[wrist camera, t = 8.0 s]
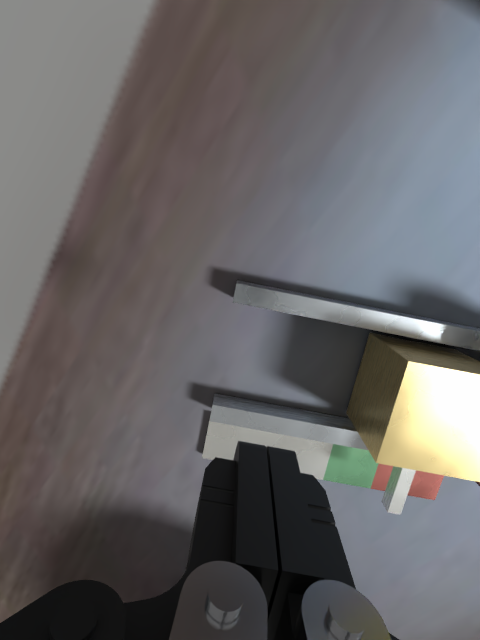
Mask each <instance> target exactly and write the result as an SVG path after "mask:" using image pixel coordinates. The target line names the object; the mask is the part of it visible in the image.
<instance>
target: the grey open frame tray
mask: <svg viewBox="0 0 480 640" xmlns="http://www.w3.org/2000/svg"><path fill="white" fill-rule="evenodd" d="M233 303H238V304H243V305H248V306H254V307H259V308H264V309H269V310H274V311H279V312H284V313H289V314H294V315H299V316H304V317H309V318H314V319H319V320H325V321H330V322H335V323H340V324H345V325H350V326H355V327H360V328H365V329H370V330H375V331H380V332H385V333H391V334H396V335H401V336H406V337H411V338H416V339H421V340H426V341H431V342H436V343H441V344H446V345H451V346H456V347H462V348H467V349H472V350H477V351H480V328H475V327H470V326H465V325H460V324H455V323H450V322H445V321H440V320H435V319H430V318H425V317H420V316H415V315H410V314H405V313H400V312H395V311H390V310H385V309H380V308H375V307H370V306H365V305H360V304H355V303H350V302H345V301H340V300H335V299H330V298H325V297H320V296H315V295H310V294H305V293H300V292H295V291H290V290H285V289H280V288H275V287H270V286H265V285H260V284H255V283H250V282H245V281H240V280H237V283H236V288H235V293H234V298H233ZM238 441H243V442H248V443H254V444H259V445H264V446H266V447H267V446H270V447H276V448H281V449H286V450H292V451H295V452H296V456H297V460H298V464H299V469H300V473H305V474H310V475H313V476H314V477H315V478H316V479H321V480H327V481H332V482H338V483H343V484H349V485H354V486H360V487H365V488H371V489H376V490H382V491H385V490H386V487H387V484H388V481H389V478H390V475H391V472H392V469H393V466H390V465H384V464H379V463H376V462H375V460H374V459H373V457H372V455H371V454H370V452H369V450H368V449H367V447H366V445H365V444H364V442H363V440H362V439H361V437H360V435H359V433H358V432H357V430H356V428H355V427H354V425H353V423H352V422H351V420H350V419H349V418H344V417H339V416H333V415H328V414H323V413H317V412H312V411H307V410H301V409H296V408H291V407H285V406H280V405H275V404H269V403H264V402H259V401H253V400H248V399H243V398H237V397H232V396H227V395H221V394H216V393H215V394H214V400H213V405H212V410H211V415H210V420H209V425H208V430H207V435H206V440H205V445H204V450H203V456H202V458H205V459H210V460H213V459H214V458H215V457H218V458H223V459H228V460H233V459H234V455H235V450H236V446H237V443H238ZM443 477H444V475H439V474H433V473H428V472H423V471H417V470H416V472H415V475H414V478H413V480H412V483H411V486H410V489H409V492H408V495H410V496H415V497H421V498H426V499H432V500H435V498H436V496H437V493H438V490H439V488H440V485H441V482H442V479H443ZM475 482H476V483H477V484H478V485H479V486H480V482H477V481H475Z"/></svg>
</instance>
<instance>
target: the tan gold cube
mask: <svg viewBox="0 0 480 640" xmlns="http://www.w3.org/2000/svg"><path fill="white" fill-rule="evenodd" d="M346 413H347V415H348V417H349V418H350V420H351V422H352V423H353V425H354V427H355V428H356V430H357V432H358V433H359V435H360V437H361V439H362V440H363V442H364V444H365V445H366V447H367V449H368V450H369V452H370V454H371V455H372V457H373V459H374V460H375V462H376V463H379V464H384V465H390V466H393V469H392V472H391V475H390V478H389V481H388V484H387V487H386V490H385V493H384V496H383V499H382V503H383V505H384V507H385V509H386V510H387V512H389V513H394V514H400V515H401V512H402V509H403V506H404V503H405V500H406V498H407V495H408V492H409V489H410V486H411V483H412V480H413V478H414V475H415V472H416V470H417V471H423V472H428V473H433V474H439V475H444V476H450V477H455V478H461V479H466V480H472V481H477V482H480V362H479V361H477V360H475V359H473V358H471V357H469V356H468V355H466V354H464V353H462V352H460V351H458V350H456V349H451V348H446V347H441V346H436V345H431V344H426V343H421V342H416V341H411V340H406V339H401V338H396V337H390V336H385V335H380V334H375V333H369V336H368V340H367V343H366V347H365V350H364V354H363V357H362V361H361V364H360V368H359V371H358V374H357V378H356V381H355V385H354V388H353V392H352V395H351V399H350V402H349V406H348V409H347V412H346Z"/></svg>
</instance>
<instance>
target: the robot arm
mask: <svg viewBox="0 0 480 640" xmlns="http://www.w3.org/2000/svg"><path fill="white" fill-rule="evenodd" d="M330 509H331V507H330V504H329V501H328V498H327V495H326V491H325V490H324V488H323V487H322V486H321V485H320V483H319V482H318V481H317V480H316V478H315V477H314V476H313V475H310V474H305V473H300V469H299V464H298V460H297V456H296V452H295V451H292V450H286V449H281V448H276V447H270V446H267V447H266V446H264V445H259V444H254V443H248V442H243V441H238V443H237V446H236V450H235V455H234V459H233V460H228V459H223V458H218V457H215V458H214V459H213V461H212V462H211V463H210V464H209V465H208V466H207V467H206V469H205V472H204V477H203V482H202V487H201V492H200V497H199V502H198V507H197V512H196V517H195V522H194V528H193V533H192V539H191V545H190V550H189V556H188V562H187V568H186V572H185V574H184V575H183V577H182V578H181V580H180V581H179V582H178V583H177V584H176V585H175V586H174V587H172V588H171V589H170V590H168V591H167V592H165V593H163V594H161V595H159V596H157V597H154V598H150V599H146V600H141V601H135V602H129V603H124V604H123V602H122V600H121V598H120V597H119V595H118V594H117V593H116V592H115V591H114V590H113V589H112V588H111V587H109V586H108V585H106V584H103V583H101V582H98V581H93V580H79V581H73V582H69V583H66V584H64V585H61V586H59V587H57V588H55V589H53V590H51V591H50V592H48V593H47V594H45V595H43V596H42V597H40V598H39V599H37V600H36V601H34V602H33V603H31V604H29V605H28V606H26V607H25V608H23V609H22V610H20V611H19V612H17V613H15V614H14V615H12V616H11V617H9V618H8V619H6V620H5V621H3V622H1V623H0V640H399V639H397V638H396V637H394V636H393V635H391V634H390V633H389V632H388V630H387V628H386V625H385V623H384V621H383V619H382V617H381V616H380V614H379V613H378V611H377V610H376V608H375V607H374V606H373V605H372V603H371V602H370V601H369V600H368V599H367V598H366V597H365V596H364V595H362V594H361V593H360V592H359V591H357V590H356V588H355V585H354V582H353V578H352V575H351V572H350V569H349V565H348V562H347V559H346V556H345V553H344V549H343V546H342V543H341V540H340V536H339V533H338V530H337V527H335V520H334V517H333V514H332V512H331V511H330Z"/></svg>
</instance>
